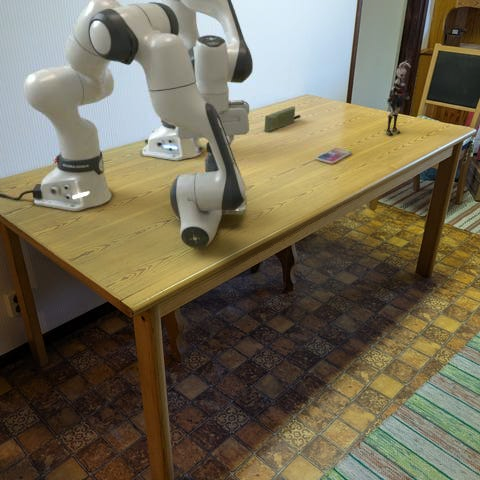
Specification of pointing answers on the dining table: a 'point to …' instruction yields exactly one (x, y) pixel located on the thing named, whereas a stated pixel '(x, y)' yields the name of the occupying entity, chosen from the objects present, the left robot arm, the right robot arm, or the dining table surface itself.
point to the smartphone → (333, 155)
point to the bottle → (210, 163)
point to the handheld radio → (280, 119)
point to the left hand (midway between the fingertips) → (214, 189)
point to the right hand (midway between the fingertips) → (213, 151)
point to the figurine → (397, 97)
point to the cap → (209, 148)
